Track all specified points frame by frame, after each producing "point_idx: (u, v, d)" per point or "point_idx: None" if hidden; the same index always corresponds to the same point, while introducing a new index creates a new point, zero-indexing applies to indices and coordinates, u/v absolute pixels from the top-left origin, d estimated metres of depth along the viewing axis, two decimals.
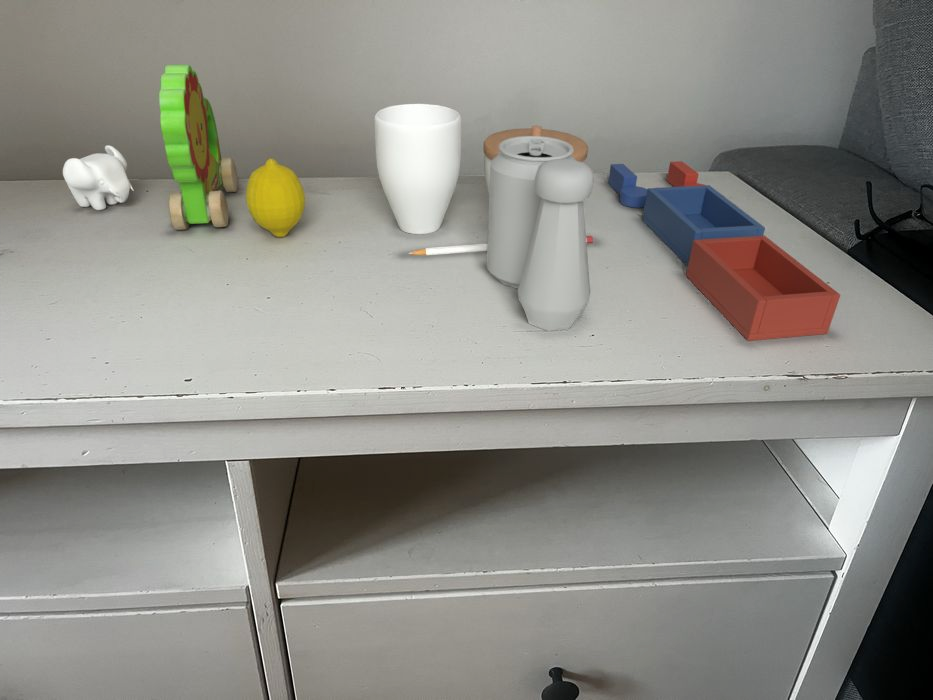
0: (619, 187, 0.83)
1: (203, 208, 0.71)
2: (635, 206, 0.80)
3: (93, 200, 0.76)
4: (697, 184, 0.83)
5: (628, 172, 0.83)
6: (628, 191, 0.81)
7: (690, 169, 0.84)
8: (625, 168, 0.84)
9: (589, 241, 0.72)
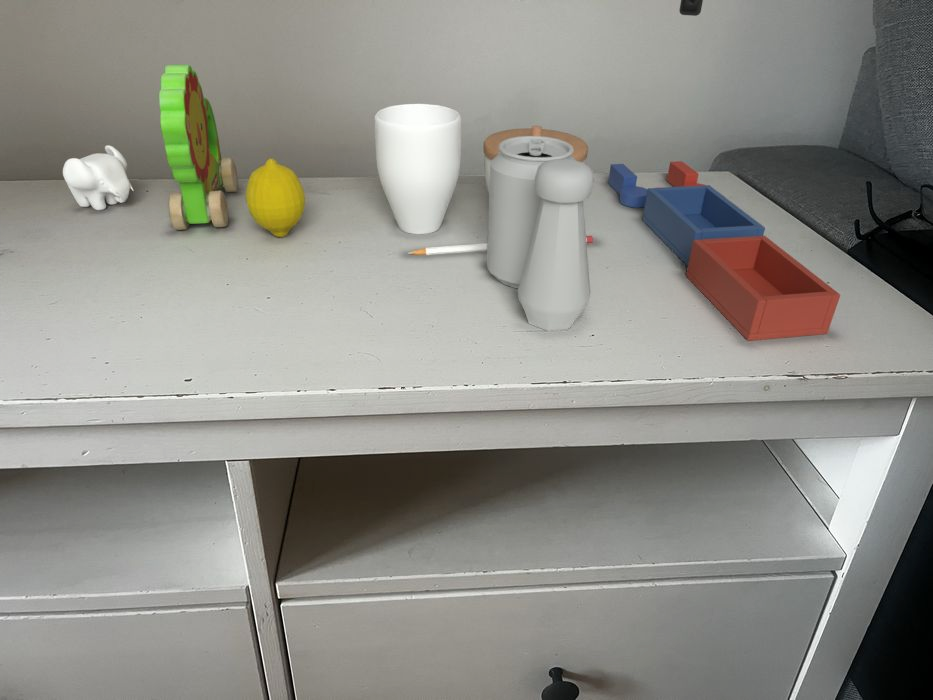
0: (619, 187, 0.83)
1: (203, 208, 0.71)
2: (635, 206, 0.80)
3: (93, 200, 0.76)
4: (697, 184, 0.83)
5: (628, 172, 0.83)
6: (628, 191, 0.81)
7: (690, 169, 0.84)
8: (625, 168, 0.84)
9: (589, 240, 0.72)
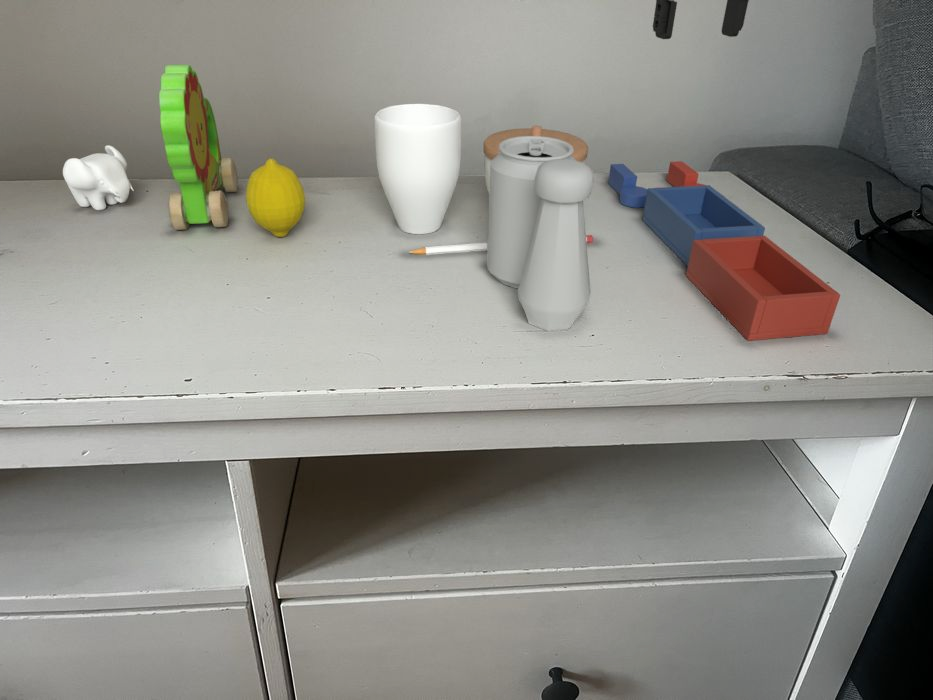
0: (619, 187, 0.83)
1: (203, 208, 0.71)
2: (635, 206, 0.80)
3: (93, 200, 0.76)
4: (697, 184, 0.83)
5: (628, 172, 0.83)
6: (628, 191, 0.81)
7: (690, 169, 0.84)
8: (625, 168, 0.84)
9: (589, 240, 0.72)
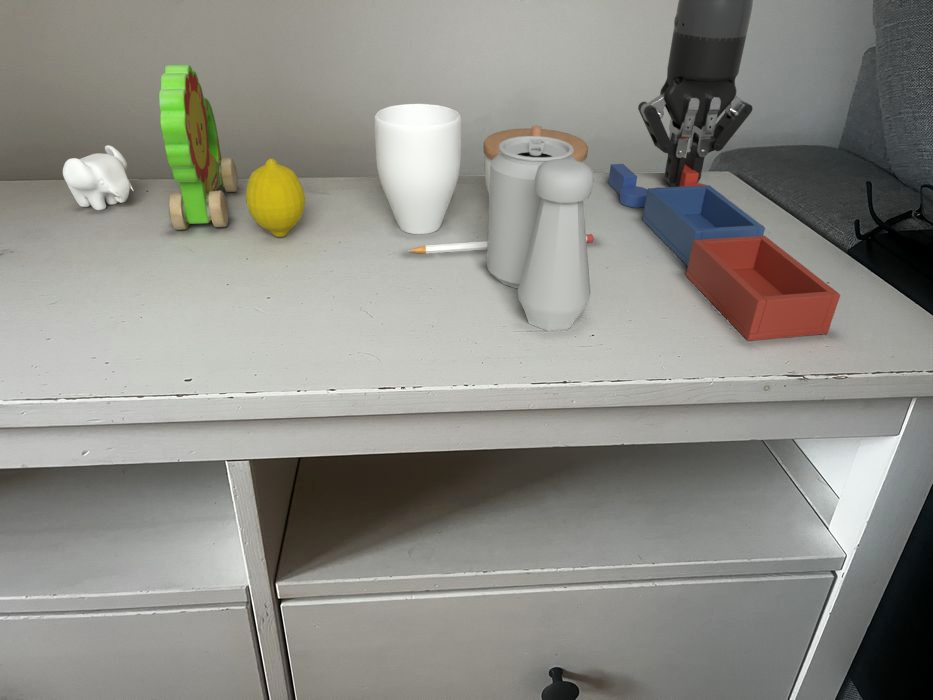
0: (619, 187, 0.83)
1: (203, 208, 0.71)
2: (635, 206, 0.80)
3: (93, 200, 0.76)
4: (697, 184, 0.83)
5: (628, 172, 0.83)
6: (628, 191, 0.81)
7: (690, 169, 0.84)
8: (625, 168, 0.84)
9: (589, 239, 0.72)
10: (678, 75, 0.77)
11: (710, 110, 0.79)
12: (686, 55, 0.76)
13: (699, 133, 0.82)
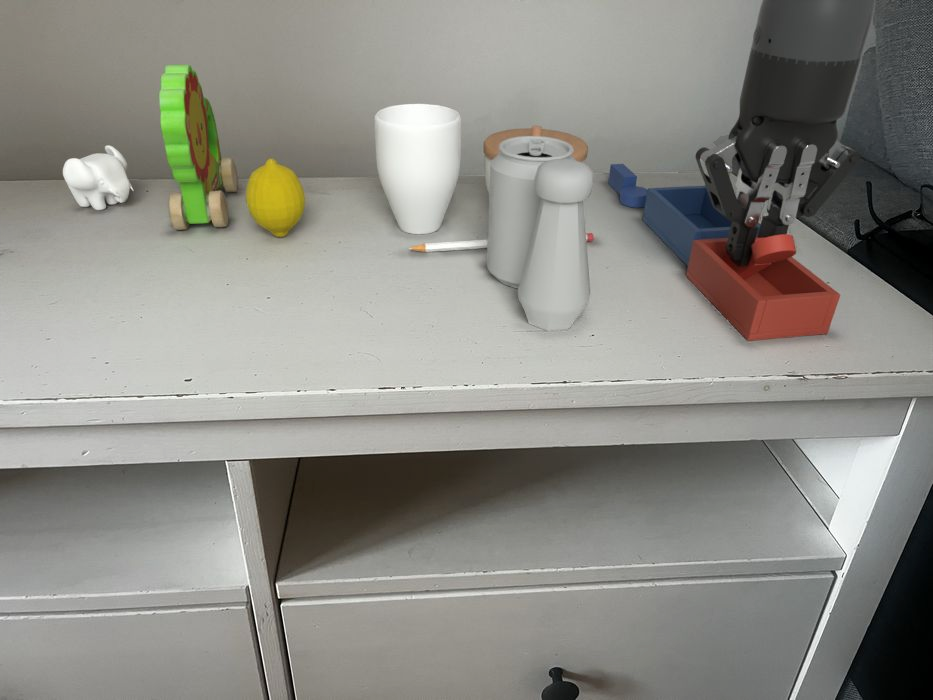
0: (619, 187, 0.83)
1: (203, 208, 0.71)
2: (635, 206, 0.80)
3: (93, 200, 0.76)
4: None
5: (628, 172, 0.83)
6: (628, 191, 0.81)
7: None
8: (625, 168, 0.84)
9: (589, 238, 0.72)
10: (758, 114, 0.53)
11: (801, 163, 0.55)
12: (773, 85, 0.52)
13: (783, 193, 0.58)
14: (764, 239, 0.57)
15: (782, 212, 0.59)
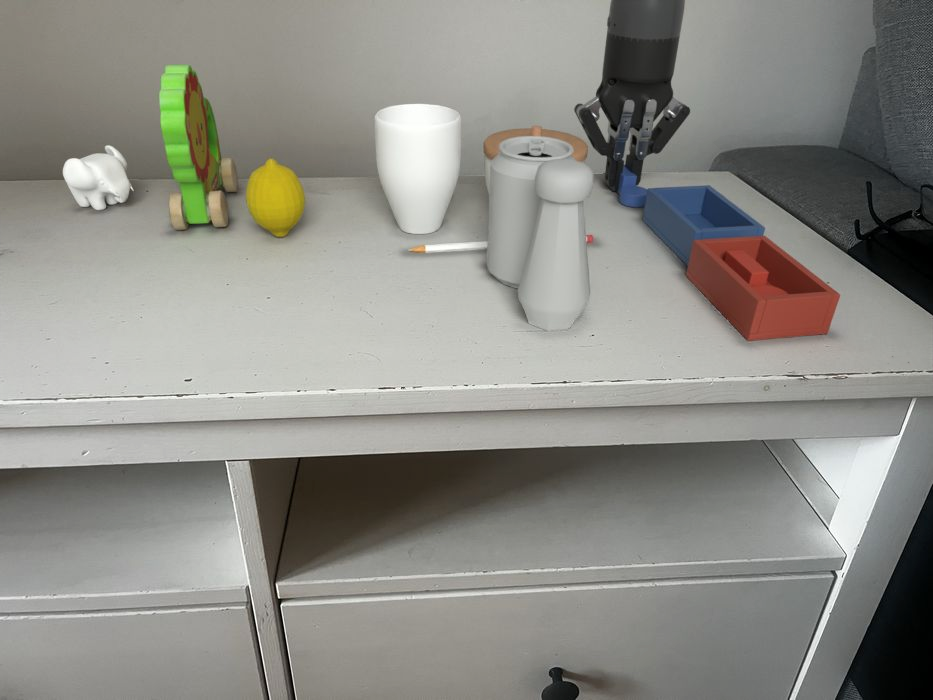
0: (619, 186, 0.83)
1: (203, 208, 0.71)
2: (634, 205, 0.80)
3: (93, 200, 0.76)
4: (767, 287, 0.60)
5: (628, 172, 0.83)
6: (628, 190, 0.81)
7: (756, 264, 0.62)
8: (625, 168, 0.84)
9: (589, 240, 0.72)
10: (611, 77, 0.76)
11: (646, 112, 0.78)
12: (618, 56, 0.74)
13: (637, 135, 0.81)
14: None
15: (636, 150, 0.81)
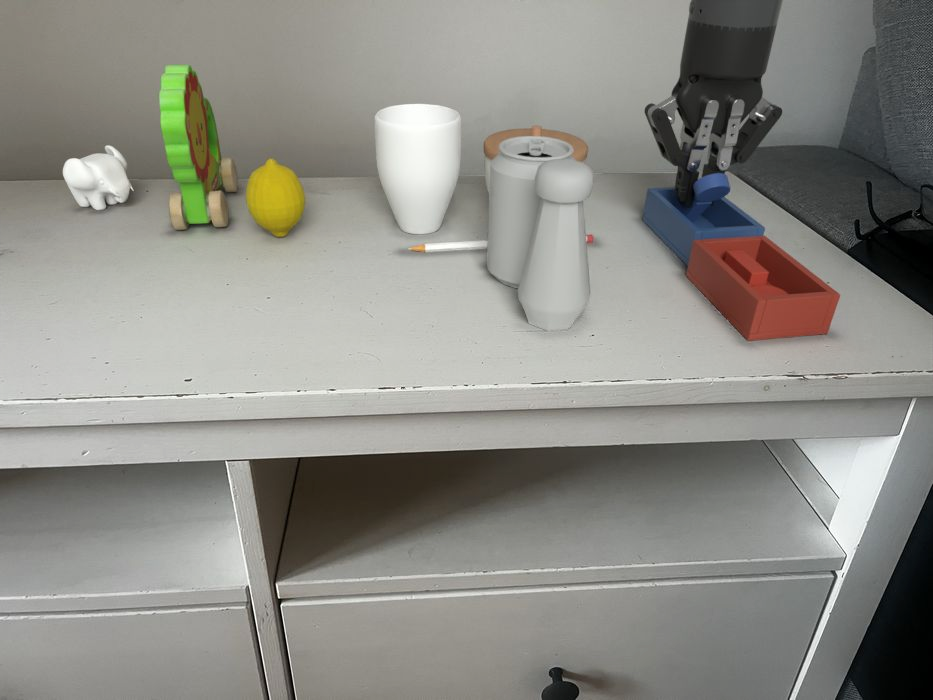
0: None
1: (203, 208, 0.71)
2: (716, 184, 0.67)
3: (93, 200, 0.76)
4: (767, 287, 0.60)
5: None
6: None
7: (756, 264, 0.62)
8: None
9: (589, 239, 0.72)
10: (694, 73, 0.64)
11: (732, 115, 0.66)
12: (704, 48, 0.62)
13: (719, 142, 0.69)
14: None
15: (718, 159, 0.69)
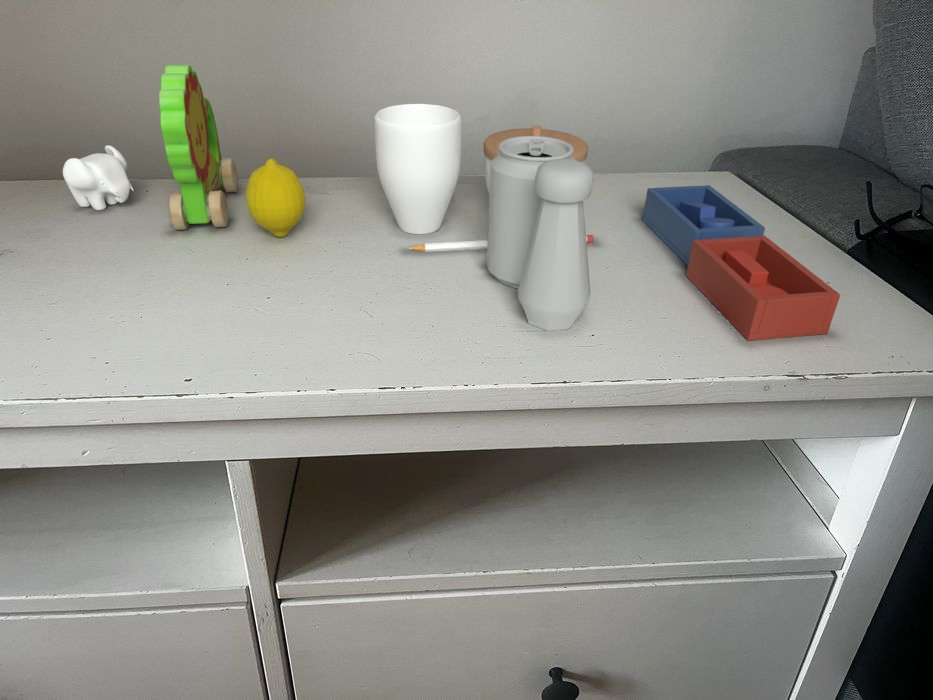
0: (695, 221, 0.71)
1: (203, 208, 0.71)
2: None
3: (93, 200, 0.76)
4: (767, 287, 0.60)
5: (703, 205, 0.71)
6: (709, 220, 0.68)
7: (756, 264, 0.62)
8: (698, 203, 0.73)
9: (589, 240, 0.72)
10: None
11: None
12: None
13: None
14: None
15: None
